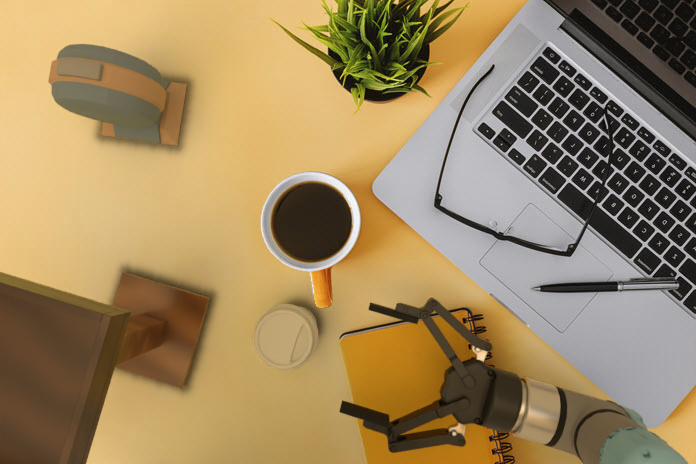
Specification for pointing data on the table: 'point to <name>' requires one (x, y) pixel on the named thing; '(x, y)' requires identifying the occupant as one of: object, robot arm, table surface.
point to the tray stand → (159, 328)
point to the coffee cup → (286, 336)
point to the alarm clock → (118, 93)
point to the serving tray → (53, 370)
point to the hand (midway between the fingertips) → (354, 355)
